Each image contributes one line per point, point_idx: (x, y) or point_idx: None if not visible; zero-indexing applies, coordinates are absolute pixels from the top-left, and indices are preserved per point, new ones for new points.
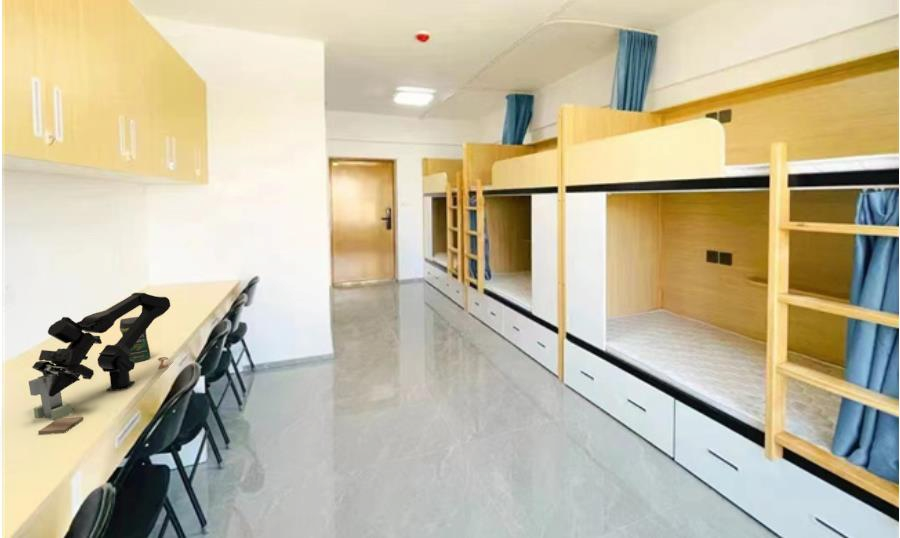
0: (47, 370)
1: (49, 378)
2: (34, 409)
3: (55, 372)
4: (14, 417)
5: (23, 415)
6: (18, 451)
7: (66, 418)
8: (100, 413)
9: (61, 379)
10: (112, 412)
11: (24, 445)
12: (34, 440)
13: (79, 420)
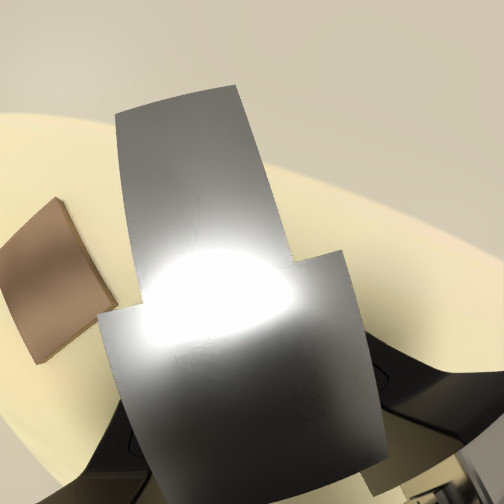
0: (481, 443)
1: (126, 373)
2: (299, 261)
3: (421, 495)
4: (380, 220)
5: (372, 249)
6: (19, 132)
7: (76, 322)
8: (57, 427)
9: (89, 462)
10: (34, 444)
11: (34, 150)
12: (35, 178)
13: (26, 340)
